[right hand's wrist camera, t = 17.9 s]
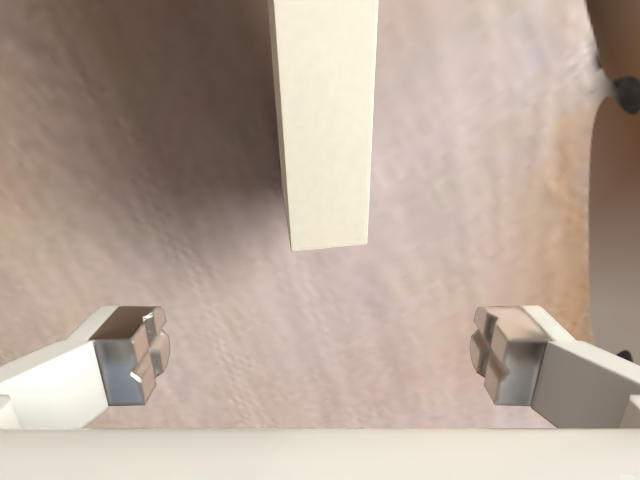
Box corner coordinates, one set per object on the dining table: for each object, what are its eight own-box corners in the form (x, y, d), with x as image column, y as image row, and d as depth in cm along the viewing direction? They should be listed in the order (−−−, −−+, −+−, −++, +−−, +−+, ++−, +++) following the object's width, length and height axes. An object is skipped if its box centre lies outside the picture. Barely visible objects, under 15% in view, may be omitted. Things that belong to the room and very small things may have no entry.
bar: (340, 187, 33) (367, 244, 25) (282, 191, 32) (291, 251, 25) (342, -292, 20) (401, -491, 12) (244, -297, 19) (236, -510, 11)
